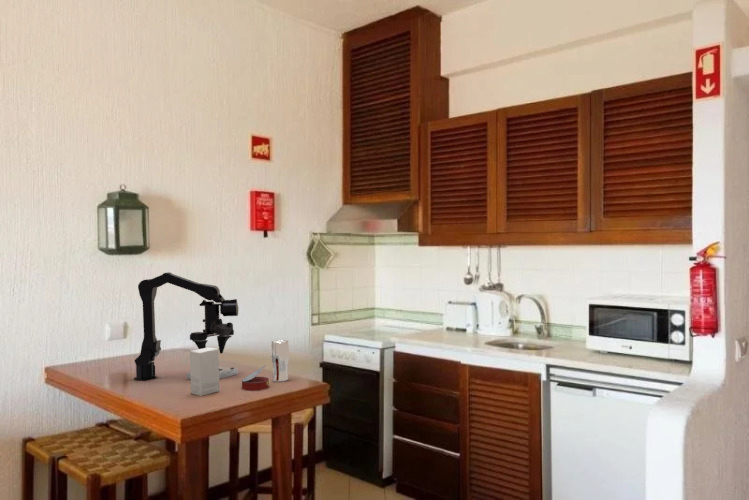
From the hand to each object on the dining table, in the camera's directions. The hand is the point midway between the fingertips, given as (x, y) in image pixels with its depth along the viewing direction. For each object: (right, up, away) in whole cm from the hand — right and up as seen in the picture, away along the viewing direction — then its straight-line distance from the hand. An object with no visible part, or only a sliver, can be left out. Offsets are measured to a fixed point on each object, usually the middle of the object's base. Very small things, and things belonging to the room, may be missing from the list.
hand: (212, 355), depth 241 cm
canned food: (+21, -9, -21) cm, 31 cm away
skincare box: (+5, -9, -28) cm, 30 cm away
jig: (0, -9, 0) cm, 9 cm away
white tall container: (+29, -8, -9) cm, 31 cm away
